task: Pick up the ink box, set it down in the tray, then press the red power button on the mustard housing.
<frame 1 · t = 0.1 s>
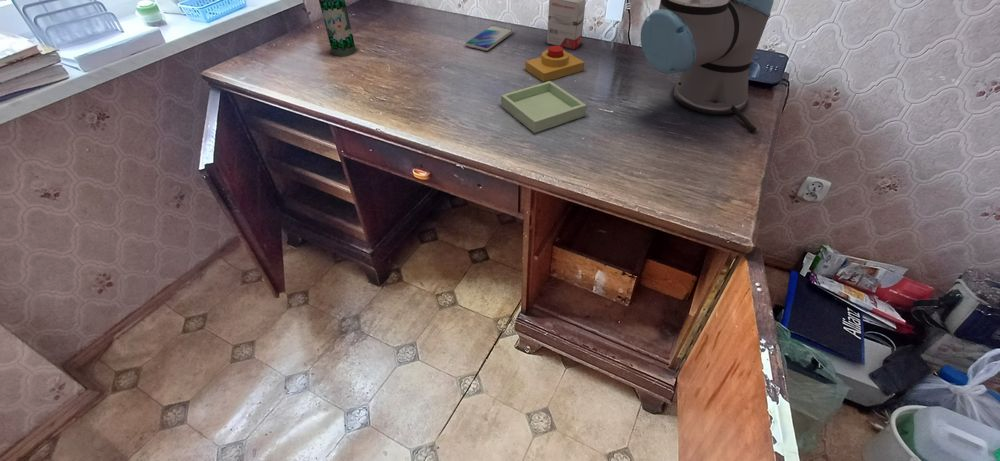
power button: (555, 52, 113), point 5 cm above the table, slide at 0.2 cm
smartphone: (489, 40, 130), on the table
can: (344, 51, 125), on the table
ink box: (563, 44, 128), on the table
tray: (542, 110, 101), on the table
power switch: (554, 70, 116), on the table
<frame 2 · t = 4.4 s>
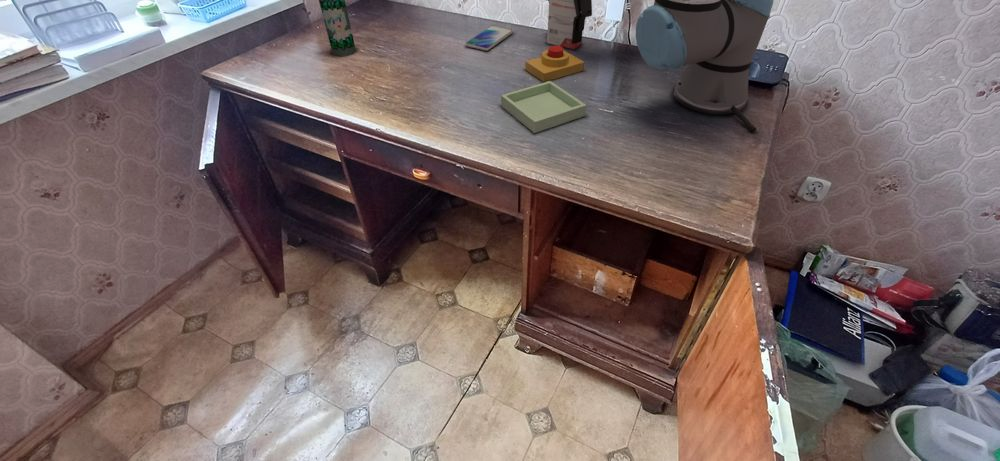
hand: (564, 36, 126), 2 cm above the table, tool pointing down, fingers closed on ink box, 9 cm apart
ink box: (563, 44, 128), on the table, touching gripper
everything else where it was.
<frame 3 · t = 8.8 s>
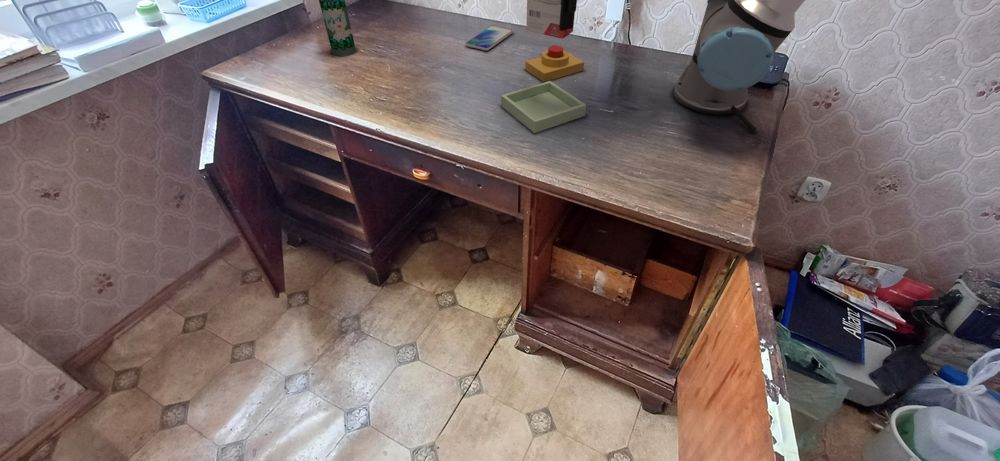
hand: (550, 20, 92), 18 cm above the table, tool pointing down, fingers closed on ink box, 9 cm apart
ink box: (549, 32, 94), point 15 cm above the table, touching gripper
everything else where it was.
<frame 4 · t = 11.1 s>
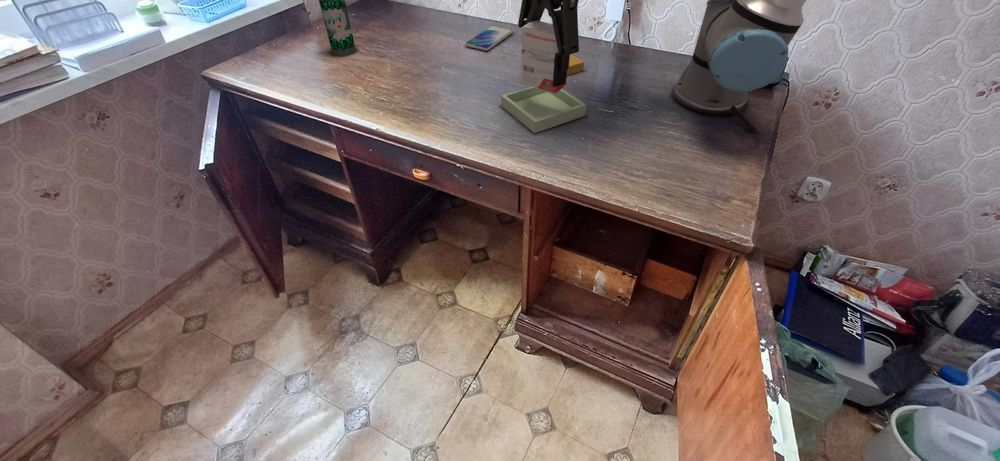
hand: (544, 74, 95), 8 cm above the table, tool pointing down, fingers closed on ink box, 9 cm apart
ink box: (543, 85, 97), point 6 cm above the table, touching gripper
everything else where it was.
when the fingers open (3 cm above the table, at t = 13.3 s): ink box stays where it is, resting on tray.
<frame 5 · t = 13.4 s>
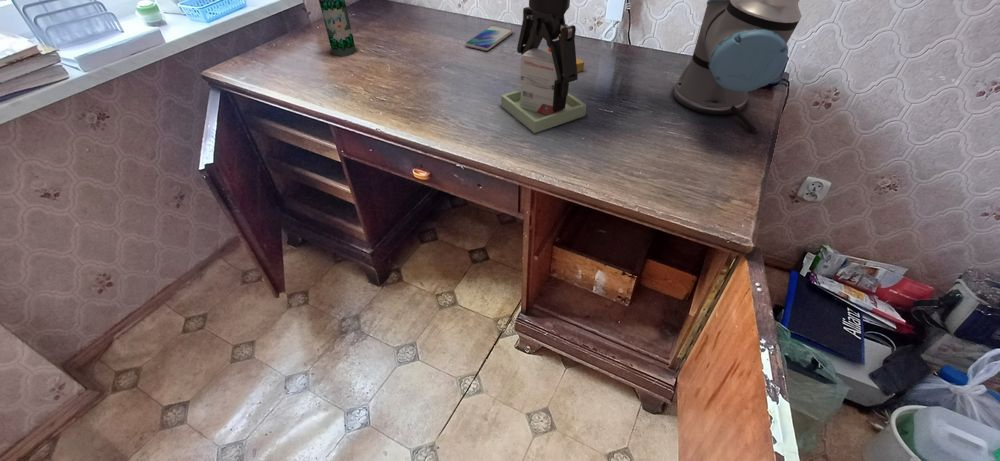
hand: (543, 98, 99), 3 cm above the table, tool pointing down, fingers open, 10 cm apart
ink box: (541, 109, 101), resting on tray
everything else where it was.
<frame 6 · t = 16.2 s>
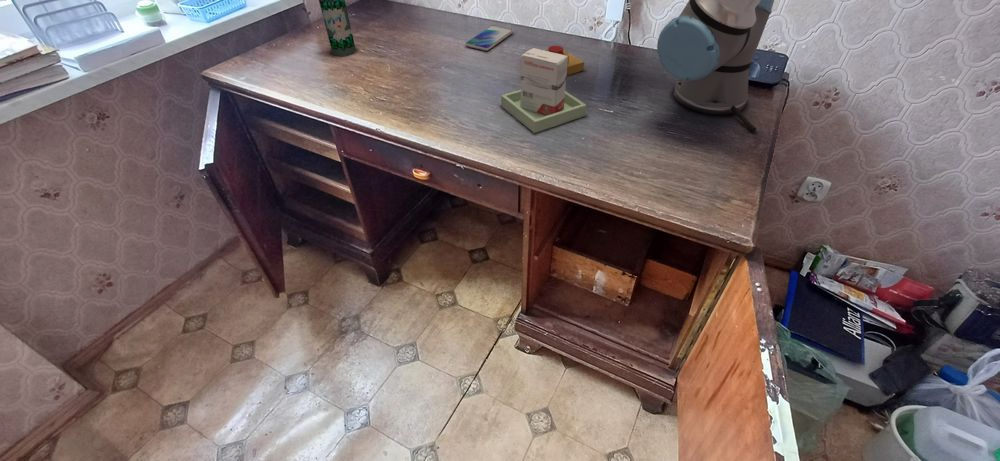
nothing on the table moved.
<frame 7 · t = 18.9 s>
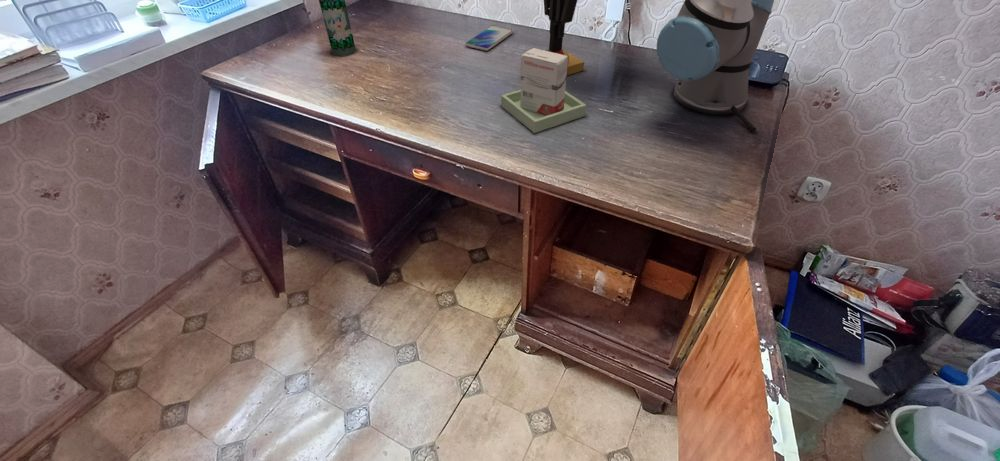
hand: (555, 49, 112), 5 cm above the table, tool pointing down, fingers closed
power button: (555, 54, 113), point 4 cm above the table, slide at -0.4 cm, touching gripper
everything else where it was.
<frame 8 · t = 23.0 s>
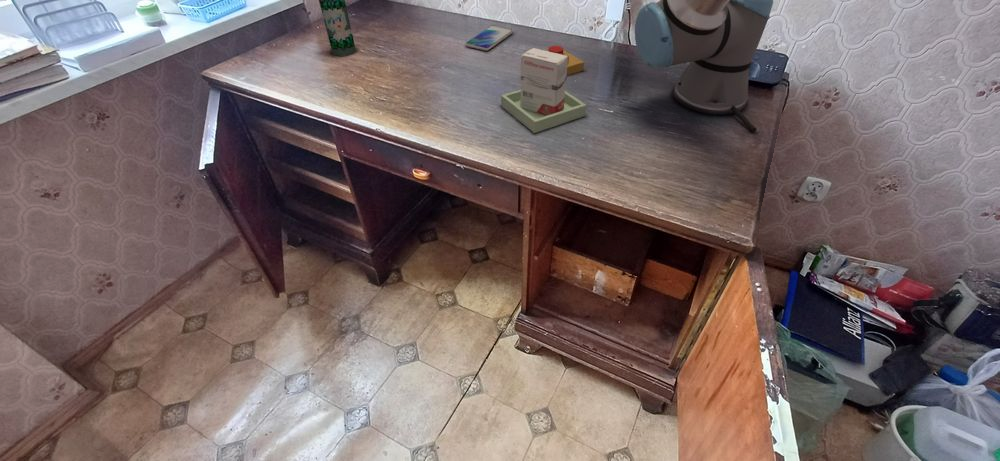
power button: (555, 52, 113), point 5 cm above the table, slide at 0.2 cm
everything else where it was.
at the end: ink box 0.1 cm off-centre in the tray, point 0.4 cm above the tray's base; power button pushed in 1.0 cm at the most during the clip, back to 0.2 cm at the end; power button slide at 0.2 cm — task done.
